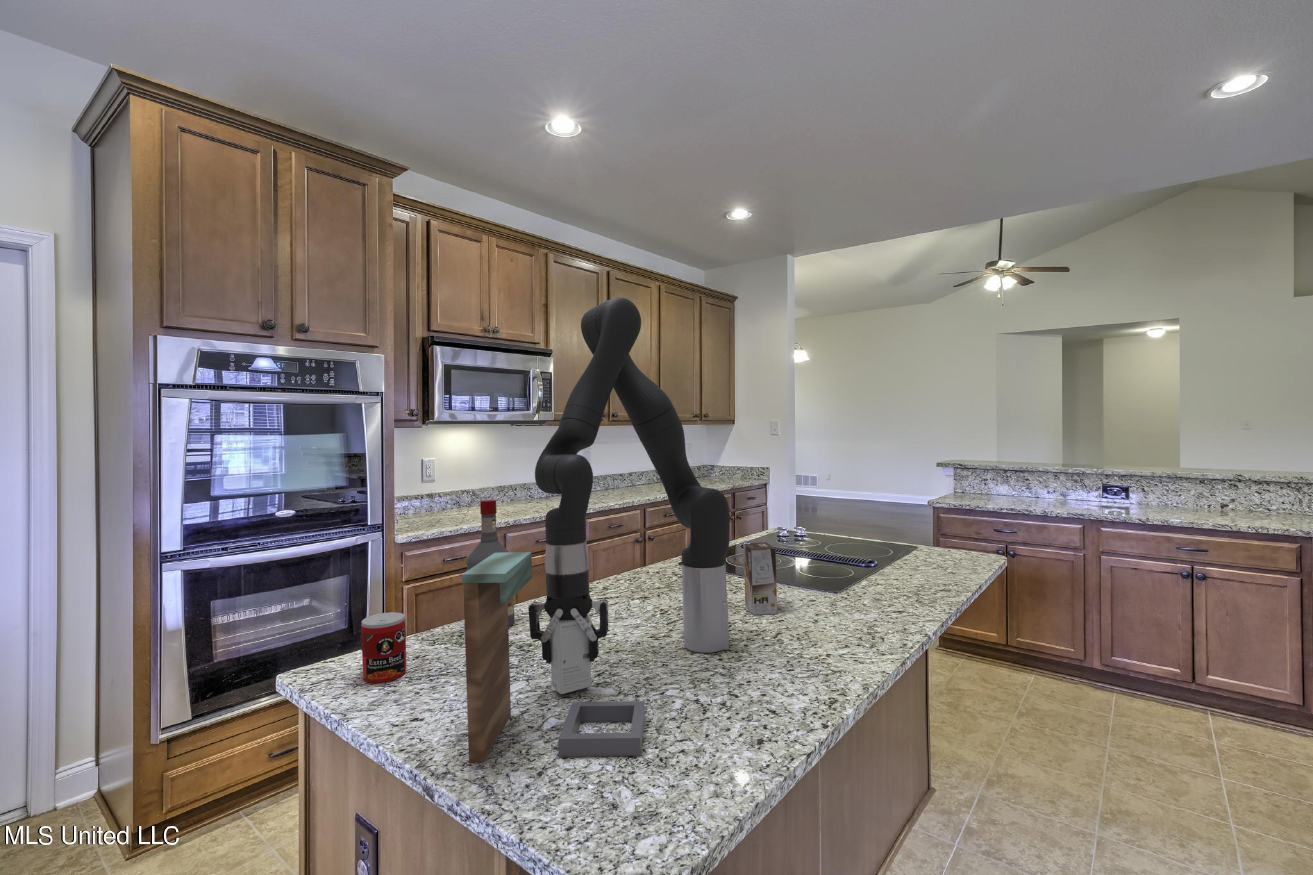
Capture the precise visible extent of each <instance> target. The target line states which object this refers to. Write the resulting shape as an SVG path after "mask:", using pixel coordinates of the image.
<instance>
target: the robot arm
mask: <svg viewBox="0 0 1313 875" xmlns="http://www.w3.org/2000/svg"><path fill="white" fill-rule="evenodd" d="M580 320H581V321H580V331H581V335H582V337H583V340H584V342H585V344H586V345H587V346H586V347H588V349H589V352H590V353H591V354H592V357H591V360H590V362H589V363H588V365H587V367H586V368H585V370H584V371H583V373H582V374H581V375H580V378H579V379H578V380H577V382H576V384H575V385H574V387H573V389H572V390H571V392H570V393H569V396H568V399H567V401H566V403H565V407H564V410H563V412H562V415H561V419H560V422H559V424H558V428H557V429H556V431H555V432H554V434H553V435H552V436H551V437H550V440H549V441H548V442H547V444H546V445H545V447H544V449H543V450H542V452H541V453H540V455H539V457H538V459H537V462H536V464H535V469H534V480H535V483H536V486H537V488H538V489H539V490H540V491H542V492H543V493H545V494H550V495H561V497H560V502H559V505H558V507H555V508H552V509H550V510H549V511H547V512H546V513H545V514H546V515H545V518H544V521H545V522H544V526H545V528H544V529H545V553H544V569H545V590H546V598H545V602H538V601H532V602H531V603H530V605H529V607H528V609H527V610H528V622H529V623H528V624H529V634H530V635H529V636H530V638H531V640H538V641H540V643H541V656H542V660H543V661H545V664H551V647H550V635H551V633H552V631H553V630H554V628H555V622H557V621H559V620H576V621H577V622H578V624H579V625H580V627H581V628H582V630H583V631H584V632H585V633H586V634H587V635H588V637H589V638H590V640H589V655H590V662H591V663H594V662H595V661H596V659H597V658H598V655H599V653H600V650H599V639H601V638H606V636H607V635H608V631H609V601H608V599H605V598H604V599H602V600H600V601H599V600H598V601H597V600H596V601H594V600H592V598H591V595H590V594H591V593H590V591H591V590H590V572H589V571H590V570H589V568H590V567H589V566H590V565H589V551H588V547H587V546H588V544H587V530H586V525H587V524H586V518H587V517H586V516H587V512H588V508H589V504H590V499H591V494H592V490H593V484H594V472H593V468H592V465H591V463H590V462H589V460H588V459H587V458H586V457H585V456H583V455H581V454H578V453H579V452H581V451H582V450H585V449H588V448H590V447H591V446H593V445H594V443H595V441H596V439H597V435H598V432H599V430H600V426H601V424H602V423H601V422H602V419H603V417H604V413H605V411H606V410H605V409H606V407H607V405H608V402H609V398H610V396H611V393H612V391H613V390H614V392H615V394H616V395H617V397H618V399H619V401H620V403H621V406H622V407H623V409H624V410H625V412H626V414H627V417H628V418H629V421H630V423H631V425H632V427H633V430H634V432H635V433H636V435H637V437H638V439H639V441H640V442H641V444H642V446H643V448H644V450H645V452H646V453H647V456H648V458H649V459H650V461H651V463H652V465H653V467H654V469H655V472H656V473H657V474H658V476H659V478H660V481H661V483H662V486H663V488H664V491H665V493H666V496H667V499H668V501H669V504H670V506H671V508H672V512H673V514H674V516H675V518H676V519H677V521H678V522H679V523H680V525H682V526H683V527H685V529H686V528H687V529H689V530H690V543H689V546H688V547H686V548H684V549H683V550H682V552H681V580H682V587H681V589H682V615H683V617H682V620H683V621H682V622H683V624H682V625H683V646H684V648H685V649H686V650H689V651H692V652H695V653H703V654H704V653H707V654H708V653H715V652H721V651H724V650H725V651H728V650H730V631H729V630H730V629H729V628H730V626H729V625H730V624H729V604H728V599H727V597H728V595H727V594H728V593H727V565H726V564H727V563H726V562H727V560H726V559H727V554H728V551H729V549H730V548H729V547H730V524H731V523H730V521H731V520H730V518H731V517H730V514H731V512H730V506H729V501H728V498H727V496H726V495H725V494H724V493H723V492H722V491H720V490H718V489H716V488H711V487H705V486H702V485H701V484H700V483H699V482H700V481H699V480H698V479H697V477H696V476H695V474H694V472H693V469H692V468H691V466H690V463H689V461H688V457H687V451H686V449H687V448H686V437H685V430H684V427H683V424H682V421H681V419H680V417H679V414H678V413H677V411H676V410H677V409H676V408H675V407H674V405H673V402H672V400H671V399H670V398H669V396H668V395H667V393H666V392H664V390H663V389H662V388H661V387H659V385H657V384H656V383H655V382H654V381H653V380H651V379H650V378H649V377H648V376H647V375H645V374H644V373H643V372H642V370H641V369H639V367H638V366H637V365H636V363H635V362H634V360H633V358H632V357H631V354H630V352H631V351H632V348H633V347H634V345H635V344H636V341H637V340H638V337H639V336H640V332H641V328H642V318H641V313H640V311H639V309H638V307H637V306H636V305H635V303H634V302H632V301H631V300H630V299H628V298H625V297H622V296H621V297H619V296H618V297H613V298H610V299H608V300H605V301H604V302H602V303H600V304H597V305H596V306H594V307H592V308H590V309H588V310H587V311H586V312H585V313H584V314H583V315H582V318H581V319H580ZM592 609H594V610H595V613H596V614H597V615H599V628H598V629H597V628H596V626H595V625H594V623H593V621H592V619H591V617H590V616H589V613H590V612H591V611H592ZM543 610H544V611H545V612H546V614H547V615H548V616H549V617H550V619H551V621H550V620H549V622H548V625H547V627H546V628H545V629H544V630H542V629H541V623H540V616H541V615H542V613H543ZM586 616H587V617H588V618H589V621H590V622H588V623H587V622H586V620H585V618H586Z"/></svg>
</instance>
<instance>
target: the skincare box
mask: <svg viewBox="0 0 1313 875" xmlns="http://www.w3.org/2000/svg"><path fill="white" fill-rule="evenodd" d="M589 618H590V617H589ZM589 618H588V617H587V616H586V618H585V620H586V622H587V623H588V622H590V621H589ZM550 621H551V618H550V619H549V622H550ZM589 640H590V638H589V637H588V635H587V634H586V633H585V632H584V631H583V630H582V628H581V627H580V625H579V624H578V622H577V621H576V620H559V621H557V622H555V628H554V630H553V631H552V633H551V635H550V647H551V663H550V670H551V671H550V675H551V676H550V677H551V678H550V679H551V680H550V681H551V687H552V688H553V690H555V691H556V692H557V693H559V695H563V694H568V693H571V692H575V691H579V690H582V689H586V688H589V687H591V686H592V664H591V663H592V662H590V655H589Z"/></svg>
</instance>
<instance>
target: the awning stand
mask: <svg viewBox="0 0 1313 875" xmlns="http://www.w3.org/2000/svg"><path fill="white" fill-rule="evenodd" d="M532 579H533V556H532V551H512V552H510V551H508V552H505V553H494V554H492V555H491V556H489V557H488V558H486V559H485V560H483V561H482V562H480V563H479V564H477V565H475V566H474V567H472V568H471V569H469V570H468V571H467V570H466V571H465V572H464V573H462V574H461V584H462V586H463V611H464V612H463V613H464V614H463V615H464V617H463V618H464V644H465V645H464V646H465V671H466V672H465V677H466V678H465V680H466V708H467V709H466V710H467V711H466V713H467V739H468V740H467V742H468V743H467V745H468V763H469V764H470V763H471V764H472V763H473V764H476V763H477V764H478V763H479V764H480V763H484V762H485V760H486V759H487V757H488V755H489V753H491V752H490V751H491V750H492V748H493V747H494V745H495V743H496V741H497V740H498V738H499V736H500V735H501V732H502V731H503V730H504V729H505V726H506V724H507V722H508V721H509V719H510V717H511V716H512V707H511V706H512V705H511V703H512V702H511V701H512V700H511V670H510V669H511V668H510V667H511V666H510V636H509V635H510V634H509V633H510V632H509V628H508V602H509V601H510V600H511V599H512V598H513V597H514V598H515V596H516V595H517V594H518V593H519V592H520V591H521V590H522V589H523V588H524V587H525V586H526V585H527V584H528V583H529V581H531V580H532Z"/></svg>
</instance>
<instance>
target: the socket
mask: <svg viewBox="0 0 1313 875" xmlns="http://www.w3.org/2000/svg"><path fill="white" fill-rule="evenodd" d="M645 706H646V705H645V700H625V701H623V700H622V701H618V700H617V701H616V700H615V701H611V700H610V701H572V702H571V704H570V706H569V710H568V713H567V715H566V718H565V721H564V723H563V726H562V728H561V731H560V733H559V736H558V739H557V740H558V741H557V743H558V747H557V748H558V757H559V758H562V757H564V758H567V757H568V758H569V757H570V758H572V757H573V758H574V757H583V758H585V757H640V756H642V748H643V738H644V730H645V720H646V708H645ZM608 722H610V723H612V722H613V723H615V722H616V723H617V722H622V723H623V722H631V724H630V726H631V727H630V732H590V733H589V732H585V733H584V732H583V733H582V732H581V733H578V731H579V728H580V725H581V723H608Z"/></svg>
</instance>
